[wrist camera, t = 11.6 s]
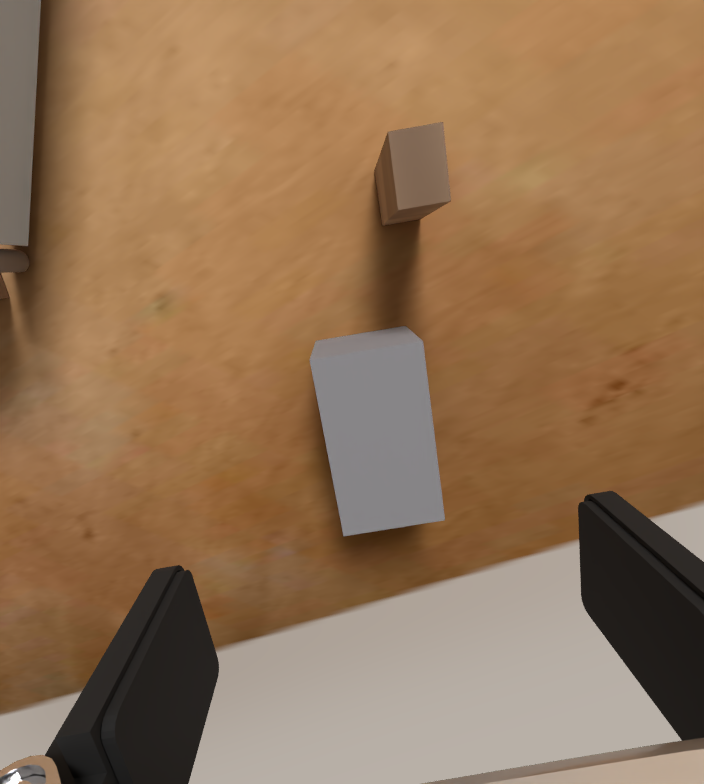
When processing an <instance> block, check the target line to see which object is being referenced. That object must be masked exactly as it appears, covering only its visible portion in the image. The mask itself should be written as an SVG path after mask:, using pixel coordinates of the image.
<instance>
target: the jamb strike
mask: <svg viewBox="0 0 704 784" xmlns="http://www.w3.org/2000/svg"><path fill="white" fill-rule="evenodd" d="M374 171H375V178H376V185H377V192H378V199H379V206H380V213H381V221H382V226H384V225H390V224H396V223H402V222H407V221H413V220H419V219H422V218H423V217H425V216H427V215H428V214H430V213H432V212H433V211H435V210H437V209H438V208H440V207H442V206H443V205H445V204H447V203H448V202H450V201H451V196H450V186H449V176H448V166H447V156H446V146H445V136H444V126H443V122H440V123H434V124H429V125H423V126H418V127H412V128H406V129H401V130H395V131H390V132H388V133H387V136H386V139H385V142H384V145H383V147H382V150H381V153H380V156H379V159H378V162H377V164H376V167H375V170H374Z"/></svg>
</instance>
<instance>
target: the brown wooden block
mask: <svg viewBox="0 0 704 784" xmlns="http://www.w3.org/2000/svg"><path fill="white" fill-rule="evenodd" d="M5 298H9V296H8V293H7V290H6V287H5V285H4V282H3V279H2V276H1V274H0V299H5Z"/></svg>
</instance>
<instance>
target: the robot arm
mask: <svg viewBox="0 0 704 784" xmlns="http://www.w3.org/2000/svg"><path fill="white" fill-rule="evenodd" d="M578 515H579V543H580V572H581V596H582V602H583V605H584V607H585V609H586V611H587V613H588V614H589V616H590V617H591V619H592V620H593V621H594V622H595V624H596V625H597V627H598V628H599V629H600V630H601V632H602V633H603V635H604V636H605V637H606V639H607V640H608V641H609V643H610V644H611V645H612V647H613V648H614V649H615V651H616V652H617V653H618V655H619V656H620V658H621V659H622V660H623V662H624V663H625V664H626V666H627V667H628V668H629V670H630V671H631V672H632V674H633V675H634V676H635V678H636V679H637V680H638V682H639V683H640V684H641V686H642V687H643V688H644V690H645V691H646V692H647V694H648V695H649V696H650V698H651V699H652V701H653V702H654V703H655V705H656V706H657V707H658V708H659V710H660V711H661V713H662V714H663V715H664V717H665V718H666V719H667V721H668V722H669V723H670V725H671V726H672V727H673V729H674V730H675V731H676V733H677V734H678V736H679V737H680V738H681V740H682V741H678V742H671V743H664V744H657V745H650V746H644V747H638V748H632V749H626V750H620V751H614V752H608V753H602V754H596V755H590V756H584V757H578V758H571V759H565V760H559V761H553V762H547V763H542V764H535V765H529V766H523V767H517V768H511V769H505V770H500V771H493V772H488V773H482V774H477V775H470V776H464V777H458V778H452V779H446V780H441V781H435V782H429V783H424V784H704V562H703V561H702V560H700V559H699V558H698V557H696V556H695V555H694V554H693V553H691V552H690V551H689V550H688V549H686V548H685V547H684V546H682V545H681V544H680V543H679V542H677V541H676V540H675V539H674V538H672V537H671V536H670V535H669V534H667V533H666V532H665V531H663V530H662V529H661V528H660V527H658V526H657V525H656V524H655V523H653V522H652V521H651V520H650V519H648V518H647V517H646V516H644V515H643V514H642V513H641V512H639V511H638V510H637V509H636V508H634V507H633V506H632V505H631V504H629V503H628V502H627V501H625V500H624V499H623V498H622V497H620V496H619V495H618V494H617V493H615V492H613V491H607V492H601V493H595V494H589V495H587V496H585V499H584V502H581V503H579V506H578ZM218 672H219V664H218V658H217V655H216V651H215V648H214V645H213V641H212V638H211V635H210V632H209V628H208V625H207V622H206V619H205V615H204V612H203V609H202V606H201V602H200V599H199V596H198V593H197V589H196V586H195V583H194V580H193V576H192V574H191V572H190V571H189V570H186V571H184V569H183V568H182V566H180V565H178V566H172V567H166V568H160V569H156V570H154V571H153V572H152V574H151V576H150V577H149V579H148V581H147V582H146V584H145V586H144V587H143V589H142V591H141V593H140V594H139V596H138V598H137V599H136V601H135V603H134V604H133V606H132V608H131V610H130V611H129V613H128V615H127V616H126V618H125V620H124V621H123V623H122V625H121V626H120V628H119V630H118V632H117V633H116V635H115V637H114V638H113V640H112V642H111V643H110V645H109V647H108V649H107V650H106V652H105V654H104V655H103V657H102V659H101V660H100V662H99V664H98V666H97V667H96V669H95V671H94V672H93V674H92V676H91V677H90V679H89V681H88V683H87V684H86V686H85V688H84V689H83V691H82V693H81V694H80V696H79V698H78V700H77V701H76V703H75V705H74V707H73V708H72V710H71V711H70V713H69V715H68V717H67V718H66V720H65V722H64V724H63V725H62V727H61V728H60V730H59V732H58V734H57V735H56V737H55V739H54V741H53V742H52V744H51V746H50V747H49V749H48V751H47V753H46V754H45V756H44V755H37V756H29V757H27V758H24V759H21V760H18V761H16V762H14V763H12V764H10V765H9V766H7V767H5V768H4V769H2V770H0V784H188V783H189V779H190V776H191V772H192V768H193V765H194V761H195V758H196V754H197V750H198V747H199V743H200V740H201V736H202V732H203V728H204V725H205V722H206V718H207V714H208V710H209V707H210V703H211V700H212V696H213V693H214V689H215V686H216V682H217V678H218Z"/></svg>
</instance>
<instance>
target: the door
mask: <svg viewBox="0 0 704 784" xmlns="http://www.w3.org/2000/svg"><path fill="white" fill-rule="evenodd" d="M40 10H41V0H0V244H4V245H19V246H28V239H29V220H30V201H31V182H32V163H33V144H34V125H35V106H36V87H37V68H38V48H39V29H40ZM28 267H29V259H28V257H27V255H26V254H25V253H24V252H22V251H20V250H15V249H0V273H1V272H24V271H26V270H27V269H28Z"/></svg>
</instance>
